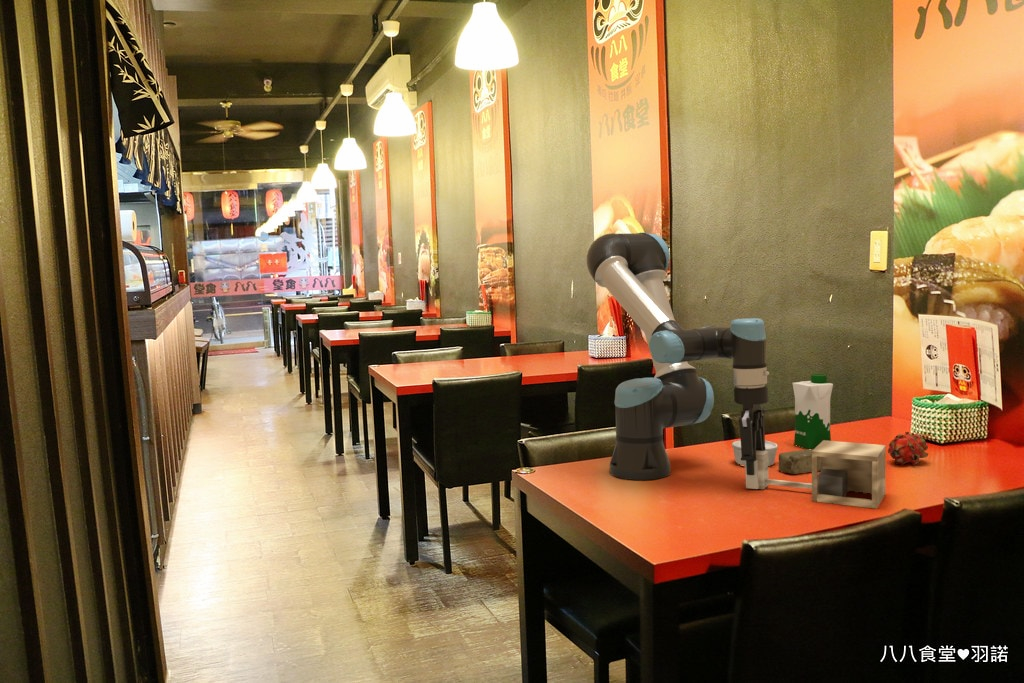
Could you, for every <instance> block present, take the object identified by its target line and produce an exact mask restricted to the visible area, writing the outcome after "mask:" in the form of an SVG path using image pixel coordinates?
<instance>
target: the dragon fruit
mask: <svg viewBox="0 0 1024 683" xmlns="http://www.w3.org/2000/svg"><path fill="white" fill-rule="evenodd" d="M928 449H929V446H928V444H927V442H926V440H925V438H923V437H922V436H921V434H919V433H914V435H913V434H912V433H910V432H909V431H905V433H904V434H900V433H899V434H897V435H896V436H895V437H893V439H892V440H891V441H890V442H889V444H888V449H887V453H888V454H889V455H890V457H891V459H893V460H894V461H895V462H894V464H895V465H902V466H903V465H905V464H906V463H911V465H912V466H915V465H917V464H919V463H920V459H924V458H927V457H928V456H929V453H928V452H926V451H927V450H928Z"/></svg>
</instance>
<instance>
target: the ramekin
mask: <svg viewBox="0 0 1024 683" xmlns="http://www.w3.org/2000/svg"><path fill="white" fill-rule="evenodd" d="M731 447H732V449H733V454H734V460H735V462H736V463H737V465H739V464H740V465H739V466H741V465H744V466H743V467H745V461H741V456H742V455H741V439H740V440H736V441H733V442H732V444H731ZM778 447H779V446H778V444H777V443H776V442H773V441H768V440H765V451H768V466H769V467H771V466H770V465H772V466H773V465H774V463H775V462H776V455H777V451H778V449H779V448H778Z"/></svg>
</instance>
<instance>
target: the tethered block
mask: <svg viewBox="0 0 1024 683" xmlns="http://www.w3.org/2000/svg"><path fill="white" fill-rule="evenodd" d="M756 460H758V482H759V490H766V488H767V487H768V486H769V485H772V486H781V487H789V488H795V489H797V488H798V489H806V490H807V489H808V490H812V482H800V481H789V480H782V479H781V480H780V479H774V478H773V479H772V478H769V467H768V451H758V450H756ZM818 494H825V495H833V496H842V497H846V495H847V494H848V491H847V471H845V470H834V469H823V470H822V471H819V472H818Z"/></svg>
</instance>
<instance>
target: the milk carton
mask: <svg viewBox="0 0 1024 683" xmlns="http://www.w3.org/2000/svg"><path fill="white" fill-rule="evenodd" d="M791 383H792V384H791V385H792V388H793V394H794V441H793V442H794V443H793V446H794V445H797V446H796V447H798V446H800V447H799V448H801V447H803V448H802V449H804V448H806V449H805V450H807V449H815V448H816V447H817V446H818V445H819V444H820V443H821V442H822V441H823V440H827V441H832V438H831V437H832V435H831V397H832V391H833V387H834V384H833V383H831V382H828V381H827V374H821V373H820V374H818V373H816V374H814V373H813V374H810V380H805V381H798V382H791Z"/></svg>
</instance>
